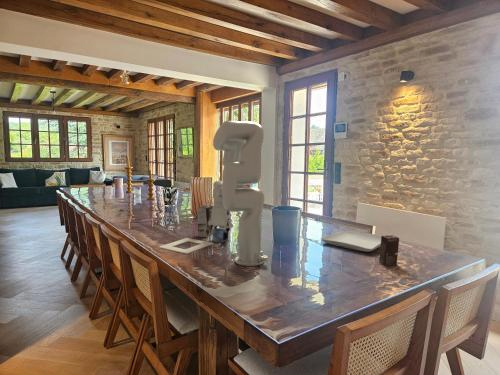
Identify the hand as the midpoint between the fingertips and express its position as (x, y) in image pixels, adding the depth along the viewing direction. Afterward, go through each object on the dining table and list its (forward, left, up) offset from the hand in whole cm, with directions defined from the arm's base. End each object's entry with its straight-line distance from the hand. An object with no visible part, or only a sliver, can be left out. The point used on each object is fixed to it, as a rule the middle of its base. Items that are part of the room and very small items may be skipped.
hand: (220, 238), depth 172 cm
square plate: (-62, -34, -2) cm, 71 cm away
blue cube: (0, 0, -1) cm, 1 cm away
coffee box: (+14, -5, -1) cm, 15 cm away
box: (-81, -10, -1) cm, 82 cm away
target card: (+8, +17, -1) cm, 19 cm away
